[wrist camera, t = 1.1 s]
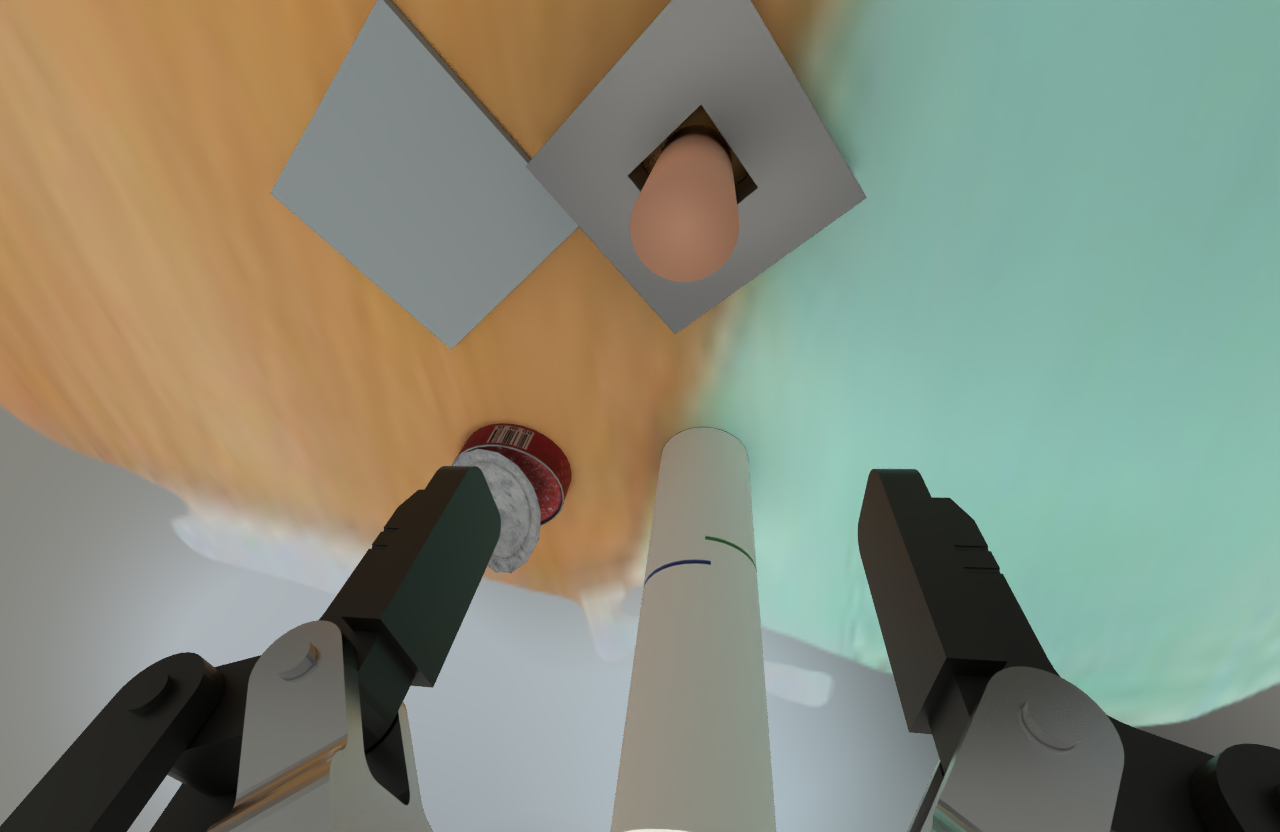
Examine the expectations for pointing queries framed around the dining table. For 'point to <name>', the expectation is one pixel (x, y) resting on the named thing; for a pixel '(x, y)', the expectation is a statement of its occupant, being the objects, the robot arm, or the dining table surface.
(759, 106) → the gray square hole block
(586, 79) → the dining table surface
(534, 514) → the canned food
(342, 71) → the mat
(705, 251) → the plug
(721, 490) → the cylindrical container
